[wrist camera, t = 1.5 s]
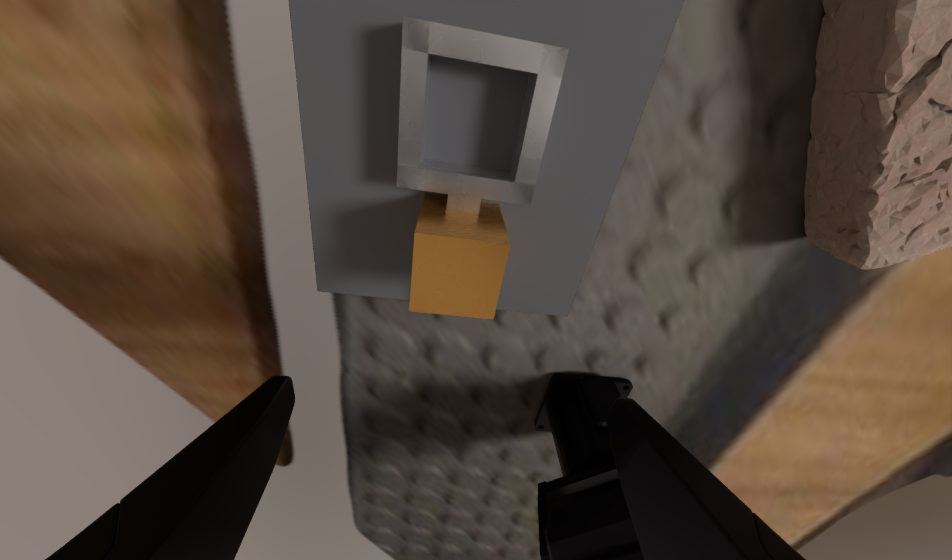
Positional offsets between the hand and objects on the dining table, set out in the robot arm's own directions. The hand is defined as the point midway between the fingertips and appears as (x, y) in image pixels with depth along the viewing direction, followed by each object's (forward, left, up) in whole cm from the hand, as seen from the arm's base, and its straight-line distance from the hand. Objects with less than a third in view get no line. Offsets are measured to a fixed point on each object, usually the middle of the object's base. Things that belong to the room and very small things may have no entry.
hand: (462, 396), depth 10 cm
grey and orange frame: (+2, 0, -12) cm, 12 cm away
